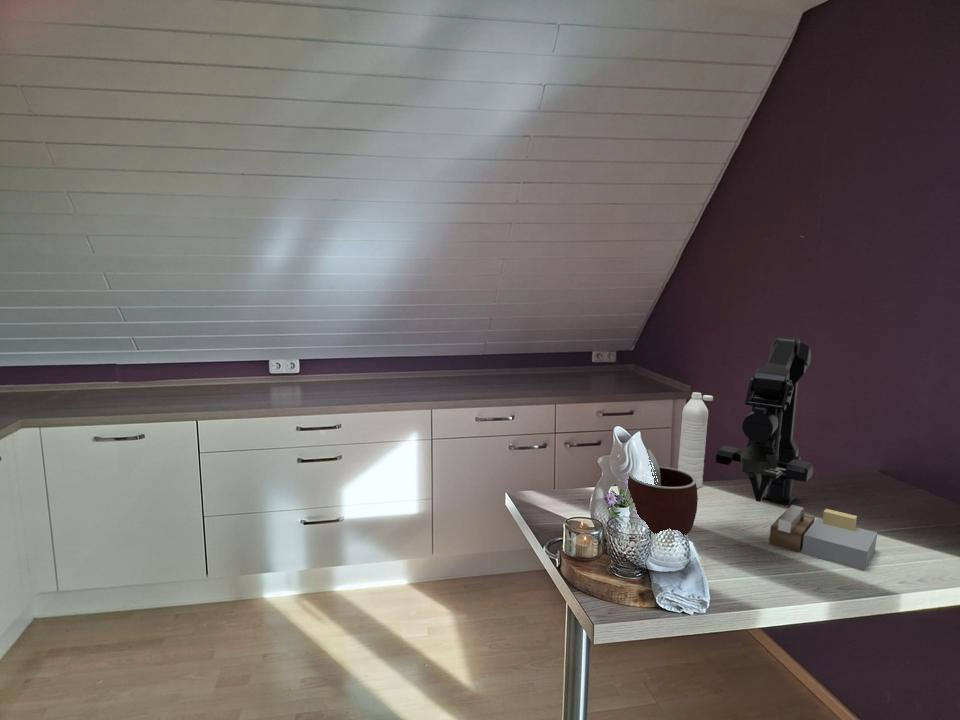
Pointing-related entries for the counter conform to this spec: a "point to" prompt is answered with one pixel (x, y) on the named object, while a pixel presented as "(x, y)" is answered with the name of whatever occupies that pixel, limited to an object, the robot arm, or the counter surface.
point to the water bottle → (694, 437)
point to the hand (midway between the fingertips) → (758, 501)
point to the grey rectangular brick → (840, 540)
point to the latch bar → (791, 518)
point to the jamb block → (790, 534)
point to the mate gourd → (665, 499)
